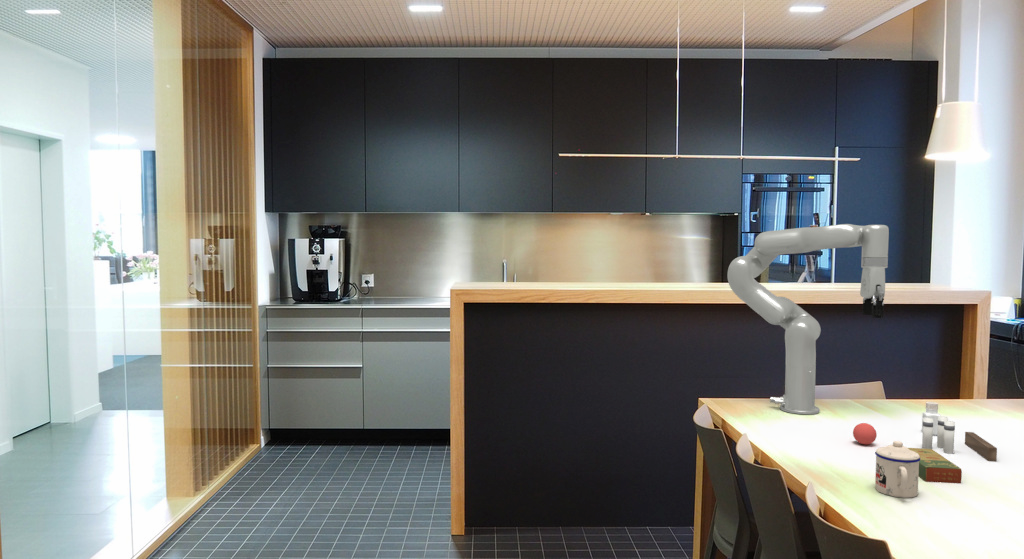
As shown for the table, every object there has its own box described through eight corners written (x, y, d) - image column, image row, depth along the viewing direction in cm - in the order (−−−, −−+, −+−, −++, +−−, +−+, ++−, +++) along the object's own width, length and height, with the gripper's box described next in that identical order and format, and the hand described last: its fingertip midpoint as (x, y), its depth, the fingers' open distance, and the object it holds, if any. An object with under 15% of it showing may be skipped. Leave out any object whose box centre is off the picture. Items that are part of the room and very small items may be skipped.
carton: (932, 464, 182) (933, 448, 181) (962, 485, 166) (963, 468, 165) (898, 462, 183) (899, 446, 183) (924, 483, 167) (925, 465, 167)
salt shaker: (940, 436, 207) (942, 404, 206) (926, 435, 207) (927, 404, 207) (935, 432, 210) (936, 401, 210) (921, 431, 211) (922, 401, 211)
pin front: (923, 449, 193) (924, 419, 193) (920, 446, 196) (921, 417, 195) (933, 450, 192) (934, 419, 192) (930, 447, 195) (931, 417, 194)
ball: (855, 446, 196) (855, 425, 196) (850, 440, 202) (851, 420, 201) (878, 448, 194) (879, 426, 194) (873, 442, 200) (873, 421, 200)
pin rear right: (944, 453, 190) (946, 422, 189) (941, 450, 192) (942, 420, 192) (955, 454, 189) (956, 423, 188) (951, 451, 191) (953, 421, 191)
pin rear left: (938, 448, 194) (939, 418, 194) (935, 445, 197) (936, 416, 196) (948, 448, 194) (949, 418, 193) (945, 446, 196) (946, 416, 196)
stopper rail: (987, 460, 183) (988, 447, 183) (964, 443, 199) (965, 431, 199) (996, 461, 183) (997, 448, 183) (972, 444, 198) (973, 432, 198)
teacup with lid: (870, 483, 166) (872, 434, 165) (913, 487, 163) (915, 438, 163) (881, 500, 154) (882, 449, 154) (927, 505, 152) (929, 452, 151)
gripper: (854, 262, 233) (852, 313, 234) (870, 263, 216) (868, 318, 217) (878, 262, 231) (876, 313, 232) (896, 264, 214) (894, 319, 215)
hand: (872, 316), depth 224 cm, fingers open, 9 cm apart
